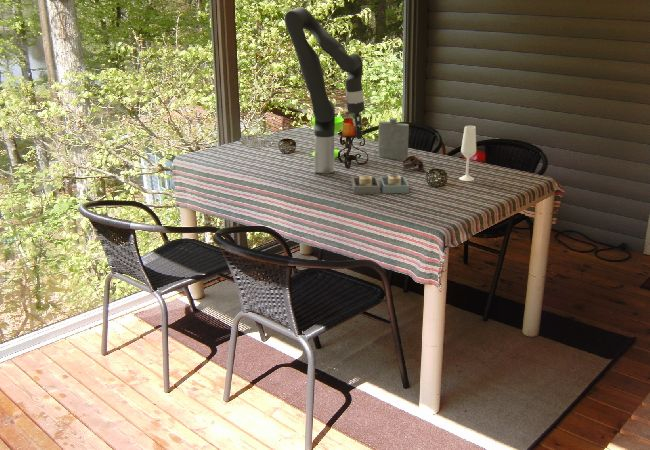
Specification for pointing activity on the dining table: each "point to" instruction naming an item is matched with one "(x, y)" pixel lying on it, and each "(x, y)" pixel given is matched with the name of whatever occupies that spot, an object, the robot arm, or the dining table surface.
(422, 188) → the dining table surface
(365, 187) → the charcoal bin
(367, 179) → the blank cube
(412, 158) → the pottery mug
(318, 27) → the robot arm
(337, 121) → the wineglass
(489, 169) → the dining table surface
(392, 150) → the hip flask
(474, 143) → the champagne flute
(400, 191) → the slate bin
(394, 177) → the letter cube
